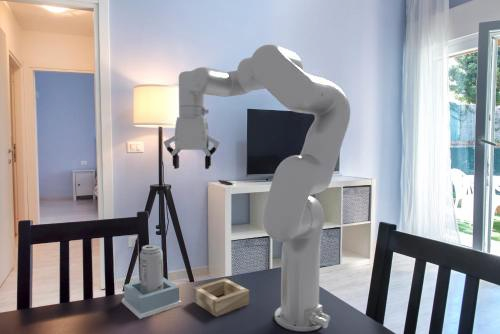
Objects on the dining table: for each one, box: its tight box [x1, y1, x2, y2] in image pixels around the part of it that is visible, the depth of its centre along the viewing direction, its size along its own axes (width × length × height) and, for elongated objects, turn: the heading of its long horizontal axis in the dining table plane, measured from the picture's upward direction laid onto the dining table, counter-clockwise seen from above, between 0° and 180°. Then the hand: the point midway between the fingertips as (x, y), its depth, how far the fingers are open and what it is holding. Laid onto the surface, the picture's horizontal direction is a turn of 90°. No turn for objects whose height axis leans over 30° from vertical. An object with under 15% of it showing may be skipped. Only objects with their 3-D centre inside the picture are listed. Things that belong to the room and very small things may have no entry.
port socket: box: [121, 276, 183, 320], centre depth 99 cm, size 12×12×5 cm
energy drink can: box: [139, 243, 164, 295], centre depth 98 cm, size 6×6×15 cm
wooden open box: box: [193, 278, 250, 318], centre depth 100 cm, size 11×11×4 cm
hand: (191, 168), depth 111 cm, fingers open, 9 cm apart
